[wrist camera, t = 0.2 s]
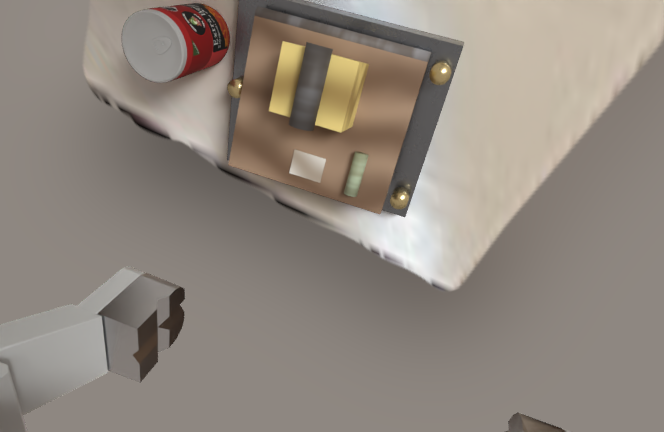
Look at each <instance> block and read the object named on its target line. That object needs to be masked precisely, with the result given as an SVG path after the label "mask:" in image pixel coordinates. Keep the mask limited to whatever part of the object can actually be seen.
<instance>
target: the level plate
mask: <svg viewBox="0 0 664 432" xmlns="http://www.w3.org/2000/svg"><path fill="white" fill-rule="evenodd" d="M430 55H431V52H429V51H425V50H421V49H418V48H414V47H410V46H406V45H403V44H399V43H395V42H391V41H387V40H384V39H380V38H376V37H372V36H369V35H365V34H361V33H357V32H354V31H350V30H346V29H342V28H338V27H335V26H331V25H327V24H323V23H320V22H316V21H312V20H308V19H305V18H301V17H297V16H293V15H289V14H286V13H282V12H278V11H274V10H271V9H267V8H263V7H259V6H258V7H257V8H256V11H255V17H254V22H253V28H252V34H251V39H250V45H249V51H248V56H247V62H246V68H245V73H244V79H243V85H242V90H241V96H240V102H239V107H238V113H237V119H236V124H235V130H234V136H233V142H232V147H231V153H230V159H229V164H228V165H230V166H233V167H236V168H239V169H242V170H245V171H248V172H251V173H254V174H257V175H260V176H263V177H267V178H270V179H273V180H276V181H279V182H282V183H285V184H288V185H291V186H294V187H297V188H300V189H303V190H307V191H310V192H313V193H316V194H319V195H322V196H325V197H328V198H331V199H334V200H337V201H340V202H344V203H347V204H350V205H353V206H356V207H359V208H362V209H365V210H368V211H371V212H374V213H377V214H380V213H381V211H382V208H383V205H384V202H385V199H386V196H387V192H388V189H389V186H390V183H391V180H392V176H393V173H394V170H395V167H396V164H397V161H398V157H399V154H400V151H401V148H402V145H403V141H404V138H405V135H406V132H407V129H408V126H409V122H410V119H411V116H412V113H413V110H414V106H415V103H416V100H417V97H418V94H419V91H420V87H421V84H422V81H423V78H424V75H425V71H426V68H427V65H428V62H429V59H430Z"/></svg>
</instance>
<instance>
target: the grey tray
mask: <svg viewBox="0 0 664 432" xmlns="http://www.w3.org/2000/svg"><path fill="white" fill-rule="evenodd" d="M258 6H259V7H263V8H267V9H271V10H274V11H278V12H282V13H286V14H289V15H293V16H297V17H301V18H305V19H308V20H312V21H316V22H320V23H323V24H327V25H331V26H335V27H338V28H342V29H346V30H350V31H354V32H357V33H361V34H365V35H369V36H372V37H376V38H380V39H384V40H387V41H391V42H395V43H399V44H403V45H406V46H410V47H414V48H418V49H421V50H425V51H429V52H431V55H430V59H429V62H428V65H427V68H426V71H425V75H424V78H423V81H422V84H421V87H420V91H419V94H418V97H417V100H416V103H415V106H414V110H413V113H412V116H411V119H410V122H409V126H408V129H407V132H406V135H405V138H404V141H403V145H402V148H401V151H400V154H399V157H398V161H397V164H396V167H395V170H394V173H393V176H392V180H391V183H390V186H389V189H388V192H387V196H386V199H385V202H384V205H383V208H382V210H384V211H387V212H390V213H393V214H396V215H399V216H403V217H405V216H406V213H407V210H408V207H409V204H410V201H411V198H412V195H413V192H414V190H415V187H416V184H417V181H418V178H419V175H420V172H421V169H422V166H423V163H424V160H425V157H426V154H427V151H428V148H429V145H430V142H431V140H432V137H433V134H434V131H435V128H436V125H437V122H438V119H439V116H440V113H441V110H442V107H443V104H444V101H445V98H446V95H447V93H448V90H449V87H450V84H451V81H452V78H453V75H454V72H455V69H456V66H457V63H458V60H459V57H460V54H461V51H462V48H463V45H464V42H462V41H458V40H454V39H450V38H446V37H443V36H439V35H435V34H431V33H427V32H423V31H419V30H416V29H412V28H408V27H404V26H400V25H396V24H392V23H388V22H385V21H381V20H377V19H373V18H369V17H365V16H361V15H358V14H354V13H350V12H346V11H342V10H338V9H334V8H331V7H327V6H323V5H319V4H315V3H311V2H307V1H304V0H239V7H238V21H237V34H236V48H235V61H234V74H233V80H232V81H230V82H229V83H228V87H227V89H228V92H229V94H230V95H231V96H232V101H231V114H230V128H229V141H228V154H227V160H229V159H230V153H231V147H232V142H233V136H234V130H235V124H236V119H237V113H238V107H239V102H240V96H241V90H242V85H243V79H244V73H245V68H246V62H247V56H248V51H249V45H250V39H251V34H252V28H253V22H254V17H255V11H256V8H257V7H258Z"/></svg>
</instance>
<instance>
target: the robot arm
mask: <svg viewBox="0 0 664 432" xmlns="http://www.w3.org/2000/svg"><path fill="white" fill-rule="evenodd" d="M184 299H185V290H184V288H182V287H180V286H178V285H176V284H173V283H170V282H168V281H166V280H163V279H160V278H158V277H156V276H153V275H151V274H148V273H145V272H143V271H140V270H138V269H135V268H133V267H130V266H128V267H125V268H122V269H121V270H119V271H118V272H117V273H116V274H115V275H113V276H112V277H111V278H110V279H109V280H108V281H106V282H105V283H104V284H102V285H101V286H100V287H99V288H98V289H97V290H95V291H94V292H93V293H92V294H90V295H89V296H88V297H87V298H85V299H84V300H83V301H82V302H81V303H79V304H78V305H77V306H75V305H72V304H70V305H66V306H63V307H59V308H56V309H52V310H49V311H45V312H42V313H39V314H35V315H32V316H28V317H25V318H21V319H18V320H14V321H11V322H8V323H4V324H1V325H0V432H28V430H27V427H26V424H25V420H24V417H23V415H25V414H27V413H29V412H31V411H33V410H35V409H37V408H39V407H41V406H42V405H45V404H46V403H48V402H51V401H52V400H54V399H56V398H58V397H60V396H62V395H64V394H66V393H68V392H70V391H72V390H74V389H76V388H78V387H80V386H82V385H84V384H86V383H88V382H90V381H92V380H94V379H96V378H98V377H100V376H102V375H104V374H106V373H108V371H111V372H114V373H116V374H119V375H122V376H124V377H127V378H130V379H132V380H135V381H138V382H141V381H142V380H143V379H144V378H145V377H146V375H147V374H148V373H149V372H150V371H151V369H152V368H153V367H154V366H155V364H156V363H157V362H158V352H160V351H163V350H165V349H168V348H169V347H170V346H171V345H172V344H173V342H174V341H175V340H176V339H177V337H178V334H179V333H180V331H181V329H182V326H183V322H184V310H183V309H182V307H181V306H180V304H181V303H182V302H183V301H184ZM508 424H509V431H506V432H570V431H567V430H563V429H562V428H559V427H556V426H554V425H551V424H548V423H546V422H543V421H540V420H537V419H535V418H532V417H529V416H526V415H524V414H521V413H516V414H514V415H513V416H512V417H511V418H510V420H509V421H508Z"/></svg>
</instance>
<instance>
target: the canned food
mask: <svg viewBox="0 0 664 432" xmlns="http://www.w3.org/2000/svg"><path fill="white" fill-rule="evenodd" d="M121 39H122V47H123V51H124V54H125V56H126V59H127V60H128V62H129V64H130V65H131V67H132V68H133V69H134V70H135V71H136V72H137V73H138V74H139V75H140V76H142V77H143V78H145V79H147V80H149V81H151V82H156V83H164V82H169V81H172V80H175V79H178V78H181V77H184V76H186V75H189V74H192V73H194V72H197V71H200V70H202V69H205V68H208V67H210V66H213V65H215V64H217V63H218V62H219V61H221V60H222V58H223V57H224V56H225V54H226V53H227V50H228V48H229V43H230V36H229V30H228V27H227V24H226V22H225V21H224V19H223V18H222V16H221V15H220V14H219V13H218V12H217V11H216V10H214V9H213V8H211V7H209V6H207V5H204V4H199V3H194V4H185V5H176V6H167V7H158V8H150V9H144V10H141V11H138V12H135V13H133V14H132V15H131V16H130V17H129V18H128V19H127V20H126V22H125V24H124V26H123V30H122V38H121Z"/></svg>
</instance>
